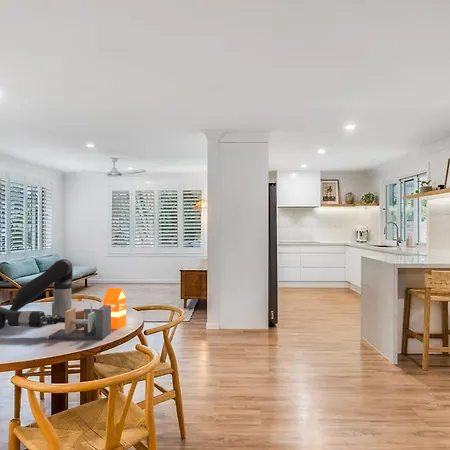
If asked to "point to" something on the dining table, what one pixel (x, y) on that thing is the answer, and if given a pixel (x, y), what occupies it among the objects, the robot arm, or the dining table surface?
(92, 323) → the pointer
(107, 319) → the grey l-shaped bracket
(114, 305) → the orange juice
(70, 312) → the plunger
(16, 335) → the dining table surface
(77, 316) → the tin
